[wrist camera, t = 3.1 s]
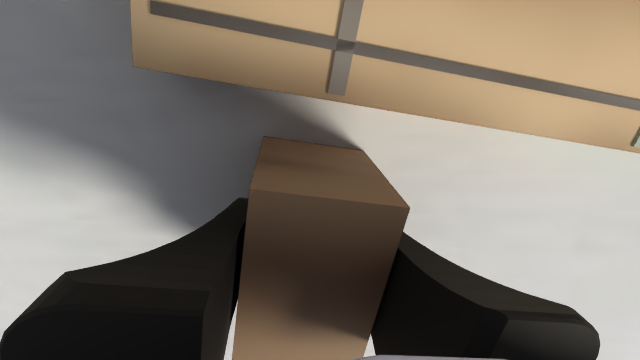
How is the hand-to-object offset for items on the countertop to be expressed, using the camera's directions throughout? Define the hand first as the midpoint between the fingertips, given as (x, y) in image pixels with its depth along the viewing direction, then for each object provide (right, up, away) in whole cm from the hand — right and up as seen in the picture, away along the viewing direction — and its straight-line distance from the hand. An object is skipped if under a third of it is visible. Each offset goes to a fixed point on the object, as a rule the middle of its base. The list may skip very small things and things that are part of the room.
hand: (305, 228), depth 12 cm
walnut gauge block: (0, +1, +1) cm, 1 cm away
